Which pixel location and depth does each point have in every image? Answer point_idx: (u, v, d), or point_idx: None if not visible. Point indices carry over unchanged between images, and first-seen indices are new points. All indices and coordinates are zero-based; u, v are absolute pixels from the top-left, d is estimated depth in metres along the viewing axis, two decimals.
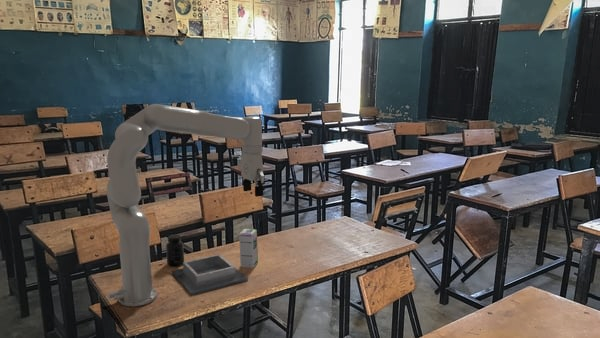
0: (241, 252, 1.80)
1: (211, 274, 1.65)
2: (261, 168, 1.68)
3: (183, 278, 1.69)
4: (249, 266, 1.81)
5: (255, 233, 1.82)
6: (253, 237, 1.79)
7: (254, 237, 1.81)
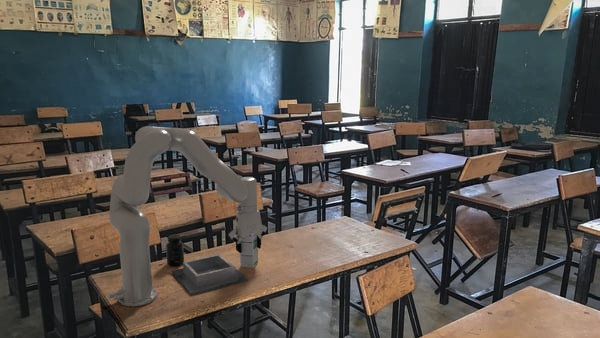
0: (241, 252, 1.80)
1: (211, 274, 1.65)
2: None
3: (183, 278, 1.69)
4: (249, 266, 1.81)
5: None
6: (253, 237, 1.79)
7: (254, 237, 1.81)
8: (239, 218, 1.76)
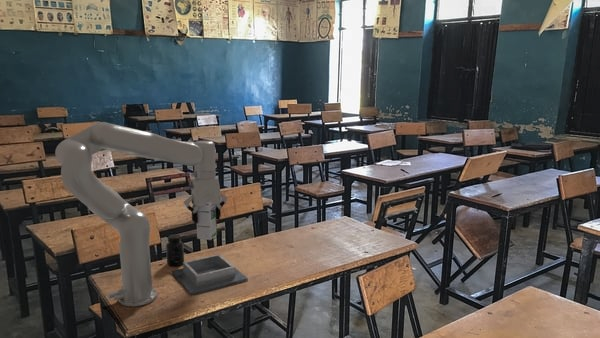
0: (198, 222, 1.66)
1: (211, 274, 1.65)
2: None
3: (183, 278, 1.69)
4: (206, 238, 1.66)
5: None
6: (210, 206, 1.64)
7: (213, 206, 1.66)
8: (195, 185, 1.61)
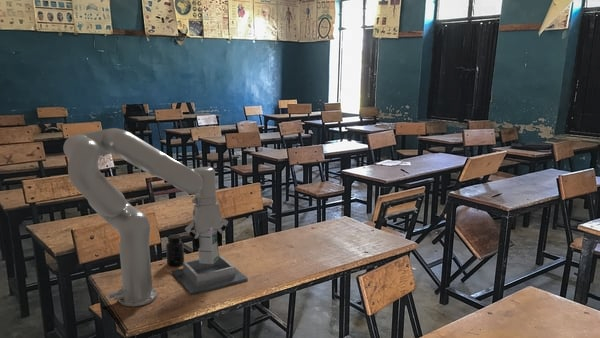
0: None
1: (211, 274, 1.65)
2: None
3: (183, 278, 1.69)
4: (208, 262, 1.68)
5: None
6: (211, 231, 1.66)
7: (214, 231, 1.68)
8: (196, 211, 1.63)
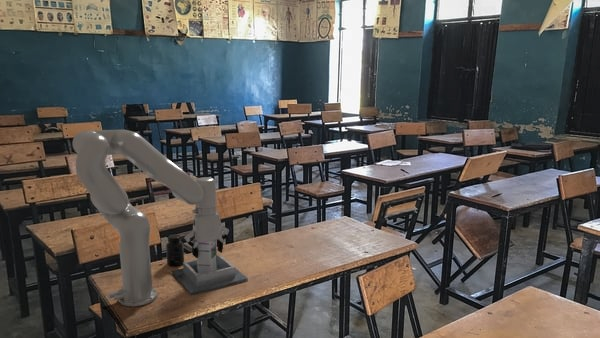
0: (198, 261, 1.69)
1: (211, 274, 1.65)
2: None
3: (183, 278, 1.69)
4: None
5: (214, 241, 1.70)
6: (210, 245, 1.67)
7: (213, 245, 1.69)
8: (196, 221, 1.64)
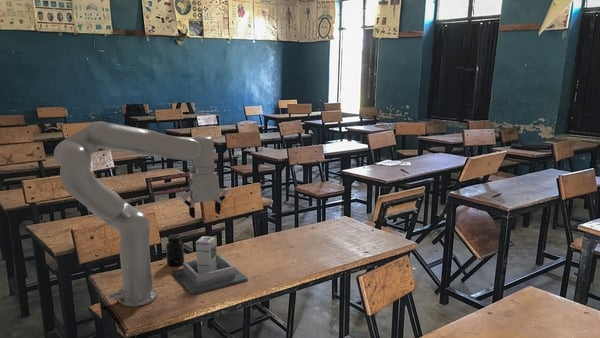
0: (198, 261, 1.69)
1: (211, 274, 1.65)
2: None
3: (183, 278, 1.69)
4: None
5: (213, 241, 1.70)
6: (210, 245, 1.67)
7: (213, 245, 1.69)
8: (193, 180, 1.61)
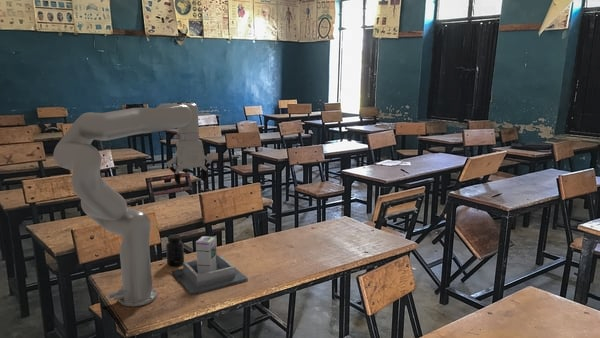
0: (198, 261, 1.69)
1: (211, 274, 1.65)
2: None
3: (183, 278, 1.69)
4: None
5: (213, 241, 1.70)
6: (210, 245, 1.67)
7: (212, 245, 1.69)
8: (178, 146, 1.63)
